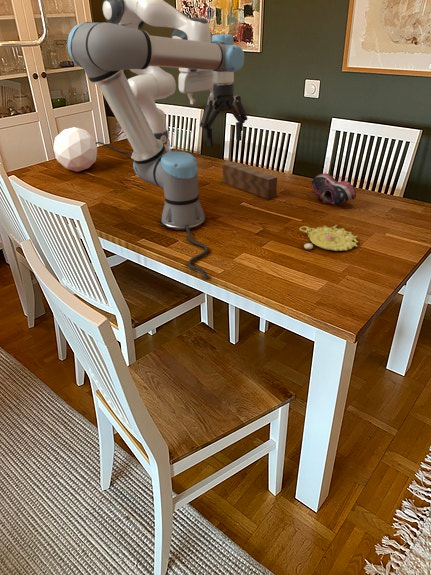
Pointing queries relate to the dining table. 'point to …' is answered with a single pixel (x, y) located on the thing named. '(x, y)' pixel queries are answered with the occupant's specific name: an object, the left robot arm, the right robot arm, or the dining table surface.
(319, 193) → the athletic shoe
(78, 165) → the sphere
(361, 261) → the dining table surface
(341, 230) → the decorative object
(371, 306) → the dining table surface
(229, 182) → the bar
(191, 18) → the left robot arm
